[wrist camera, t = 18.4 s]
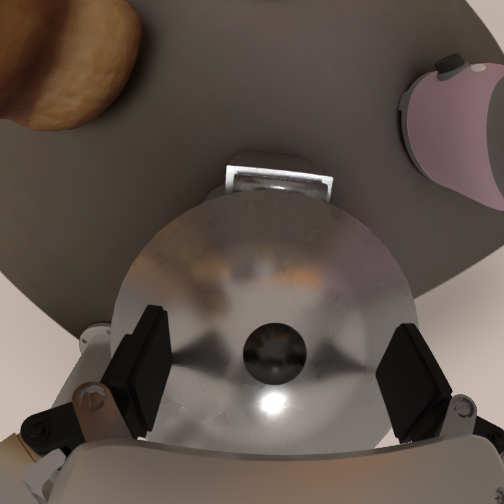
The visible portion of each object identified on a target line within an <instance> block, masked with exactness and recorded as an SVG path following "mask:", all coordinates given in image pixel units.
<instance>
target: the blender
mask: <svg viewBox="0 0 504 504" xmlns="http://www.w3.org/2000/svg"><path fill="white" fill-rule="evenodd" d="M435 67H436V69H437V71H432V72H428V73H426V74H424V75H422V76H420V77H419V78H418V79H417V80H416V81H415V82H414V83H413V84H412V85H411V87H410V88H409V90H408V91H406V92H404V93H403V95H402V97H401V99H400V102H399V107H398V110H399V111H402V132H403V137H404V142H405V145H406V148H407V150H408V153H409V155H410V157H411V159H412V161H413V162H414V164H415V165H416V167H417V168H418V169H419V171H420V172H421V173H422V174H423V175H424V176H425V177H427V178H428V179H429V180H431V181H432V182H434V183H436V184H439V185H441V186H444V187H446V188H450V189H453V190H455V191H457V192H459V193H461V194H463V195H465V196H467V197H469V198H471V199H473V200H475V201H477V202H479V203H481V204H484V205H486V206H488V207H491V208H493V209H497V210H501V211H504V65H499V64H493V63H481V64H472V65H470V63H469V62H467V61H464V60H463V59H462V57H461V55H459V54H453V55H450V56H447V57H445V58H443V59H441V60H439V61H437V62H436V63H435Z"/></svg>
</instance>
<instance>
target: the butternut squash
mask: <svg viewBox="0 0 504 504" xmlns="http://www.w3.org/2000/svg"><path fill="white" fill-rule="evenodd" d="M141 39H142V23H141V18H140V15H139V13H138V11H135V10H134V9H133V7H132V6H131V4H130V3H129V2H128V1H127V0H0V119H9V120H12V121H13V122H15V123H18V124H20V125H22V126H25V127H27V128H29V129H32V130H38V131H61V130H71V129H75V128H78V127H80V126H82V125H83V124H86V123H88V122H90V121H93V120H95V119H97V118H98V117H100V116H101V114H102V113H103V112H104V111H105V110H106V109H107V108H108V107H109V106H110V105H111V104H112V103H113V102H114V101H115V100H116V99H117V98H118V96H119V95H120V93H121V91H122V90H123V88H124V87H125V85H126V83H127V81H128V79H129V77H130V75H131V73H132V70H133V68H134V66H135V63H136V61H137V57H138V53H139V47H140V43H141Z"/></svg>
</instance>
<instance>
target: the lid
mask: <svg viewBox="0 0 504 504" xmlns="http://www.w3.org/2000/svg"><path fill="white" fill-rule="evenodd" d="M233 192H237V193H233V194H228V195H224V196H221V197H218V198H215V199H212V200H209V201H206V202H204V203H202V204H200V205H198V206H196V207H194V208H191V209H189V210H188V211H186V212H185V213H183V214H181V215H180V216H178V217H177V218H175V219H174V220H172V221H171V222H170V223H169V224H167V225H166V226H165V227H164V228H163V229H161V230H160V231H159V232H158V233H157V234H156V235H155V236H154V237H153V238H152V239H151V240H150V241H149V243H148V244H147V245H146V246H145V247H144V248H143V249H142V251H141V252H140V254H139V255H138V257H137V258H136V259H135V261H134V262H133V264H132V265H131V267H130V269H129V271H128V273H127V275H126V277H125V279H124V281H123V283H122V286H121V288H120V291H119V294H118V297H117V300H116V303H115V308H114V312H113V317H112V323H111V338H110V348H111V359H112V357H113V355H114V353H115V351H116V349H117V348H118V346H119V344H120V342H121V340H122V338H123V337H124V335H125V334H132V333H133V331H134V329H135V327H136V325H137V323H138V321H139V320H140V318H141V316H142V314H143V312H144V310H145V308H146V307H147V305H148V304H150V305H157V306H162V307H163V310H166V311H167V312H168V322H169V332H170V341H171V350H172V358H173V361H172V367H171V370H170V374H169V377H168V380H167V383H166V386H165V390H164V393H163V396H162V399H161V403H160V406H159V409H158V413H157V416H156V420H155V423H154V426H153V430H152V432H148V431H147V435H146V439H147V441H150V442H156V443H163V444H169V445H175V446H182V447H189V448H196V449H204V450H213V451H222V452H233V453H246V454H269V455H305V454H327V453H340V452H351V451H360V450H368V449H374V448H375V446H376V445H377V444H378V443H379V442H380V441H381V440H382V439H383V438H384V436H385V435H386V434H387V433H388V432H389V430H390V429H391V427H392V425H391V422H390V419H389V415H388V412H387V409H386V406H385V403H384V400H383V397H382V394H381V391H380V388H379V386H378V383H377V380H376V376H375V373H376V369H377V367H378V365H379V363H380V361H381V359H382V357H383V355H384V353H385V351H386V349H387V347H388V345H389V342H390V340H391V338H392V336H393V334H394V331H395V329H396V328H397V327H398V326H399V325H400V324H401V323H414V324H415V325H416V327H417V328H418V330H419V325H418V318H417V313H416V307H415V303H414V300H413V297H412V294H411V290H410V287H409V285H408V283H407V281H406V279H405V276H404V274H403V272H402V270H401V268H400V267H399V265H398V263H397V262H396V260H395V259H394V257H393V255H392V254H391V253H390V252H389V250H388V249H387V248H386V247H385V245H384V244H383V243H382V242H381V240H380V239H379V238H378V237H377V236H376V235H375V234H374V233H373V232H371V231H370V230H369V229H368V228H367V227H366V226H365V225H363V224H362V223H361V222H360V221H358V220H357V219H356V218H354V217H353V216H351V215H350V214H348V213H346V212H345V211H343V210H341V209H339V208H338V207H336V206H334V205H331V204H329V203H327V202H325V201H326V200H327V196H328V184H325V183H318V182H310V181H302V180H294V179H285V178H276V177H266V176H256V175H244V174H234V179H233Z"/></svg>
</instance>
